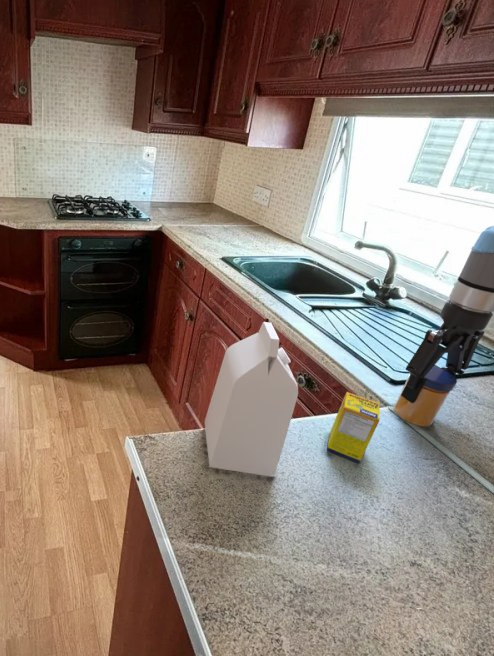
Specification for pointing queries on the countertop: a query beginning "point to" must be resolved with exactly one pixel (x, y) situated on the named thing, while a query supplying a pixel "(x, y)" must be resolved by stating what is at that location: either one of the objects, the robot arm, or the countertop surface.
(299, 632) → the countertop surface
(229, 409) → the milk
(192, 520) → the countertop surface
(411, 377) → the robot arm
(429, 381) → the lid
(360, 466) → the countertop surface
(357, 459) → the supplement box
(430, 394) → the jar
